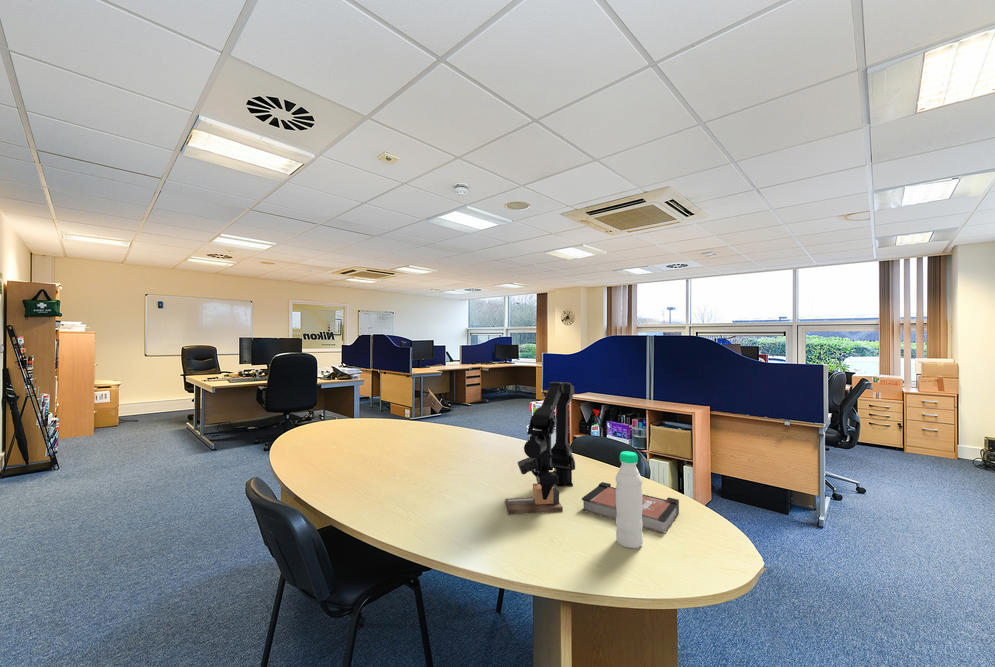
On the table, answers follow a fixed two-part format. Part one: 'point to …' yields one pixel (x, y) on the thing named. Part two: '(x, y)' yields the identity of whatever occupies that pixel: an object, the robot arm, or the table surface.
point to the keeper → (538, 495)
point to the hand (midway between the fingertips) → (542, 496)
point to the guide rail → (532, 501)
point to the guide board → (532, 507)
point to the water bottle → (629, 502)
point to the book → (654, 509)
